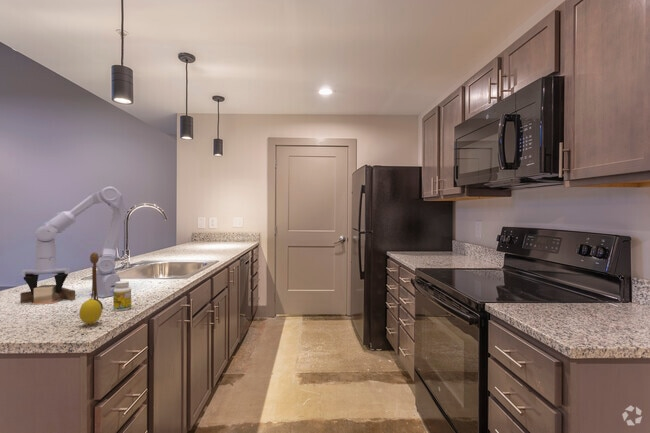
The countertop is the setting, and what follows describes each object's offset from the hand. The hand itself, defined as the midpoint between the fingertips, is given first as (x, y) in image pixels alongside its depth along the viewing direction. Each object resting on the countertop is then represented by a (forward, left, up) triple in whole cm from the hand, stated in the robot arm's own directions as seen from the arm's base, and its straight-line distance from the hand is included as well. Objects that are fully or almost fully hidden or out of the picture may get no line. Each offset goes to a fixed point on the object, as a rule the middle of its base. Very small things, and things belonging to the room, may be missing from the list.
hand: (46, 293), depth 126 cm
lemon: (-41, +5, -3) cm, 42 cm away
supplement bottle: (-33, -9, -3) cm, 35 cm away
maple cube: (0, 0, -3) cm, 3 cm away
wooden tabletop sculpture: (-25, -4, -3) cm, 26 cm away
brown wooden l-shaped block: (0, 0, -3) cm, 3 cm away
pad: (0, 0, -3) cm, 3 cm away
